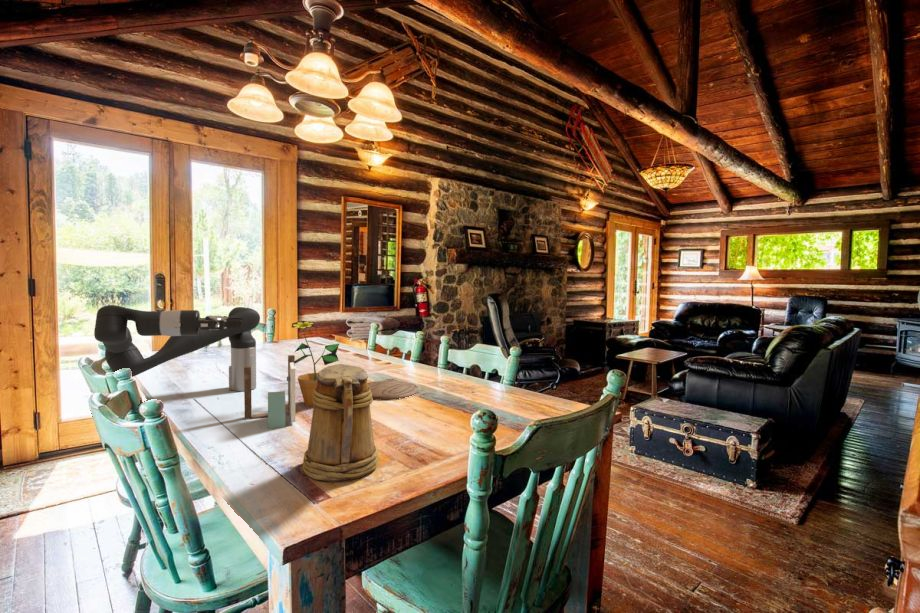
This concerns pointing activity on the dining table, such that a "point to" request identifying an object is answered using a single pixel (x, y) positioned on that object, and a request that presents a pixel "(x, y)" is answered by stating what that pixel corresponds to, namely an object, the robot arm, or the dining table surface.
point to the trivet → (392, 389)
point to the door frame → (248, 391)
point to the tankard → (341, 426)
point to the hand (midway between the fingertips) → (241, 322)
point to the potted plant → (310, 380)
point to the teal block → (276, 409)
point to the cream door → (292, 391)
